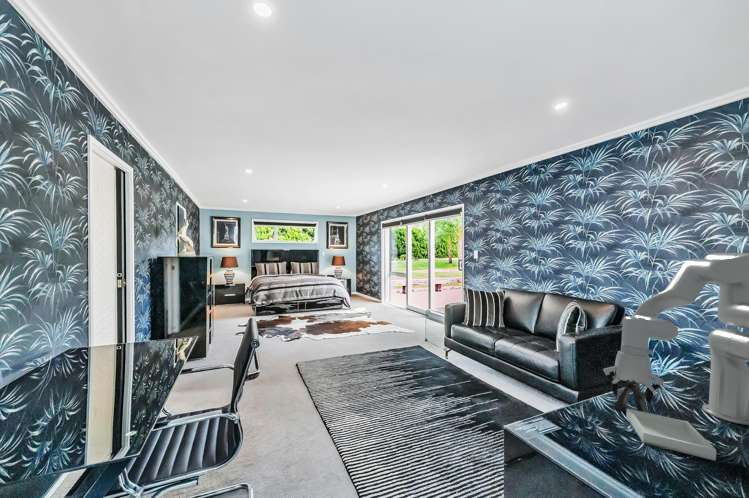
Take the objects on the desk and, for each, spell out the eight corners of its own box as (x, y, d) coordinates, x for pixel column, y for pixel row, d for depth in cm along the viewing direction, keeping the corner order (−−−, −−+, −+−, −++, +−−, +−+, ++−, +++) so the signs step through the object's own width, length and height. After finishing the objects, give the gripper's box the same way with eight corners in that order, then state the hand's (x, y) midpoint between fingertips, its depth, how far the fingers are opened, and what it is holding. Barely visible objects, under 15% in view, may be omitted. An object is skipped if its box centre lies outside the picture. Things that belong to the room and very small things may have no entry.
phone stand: (649, 414, 112) (651, 381, 112) (645, 419, 108) (647, 384, 108) (618, 403, 119) (620, 372, 119) (613, 408, 115) (615, 375, 115)
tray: (687, 430, 102) (687, 421, 102) (715, 460, 87) (716, 450, 87) (626, 416, 109) (626, 408, 109) (642, 442, 94) (643, 432, 94)
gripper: (660, 352, 113) (657, 399, 113) (603, 343, 121) (600, 387, 121) (669, 358, 106) (666, 408, 106) (607, 348, 114) (604, 394, 114)
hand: (630, 397), depth 114 cm, fingers open, 9 cm apart
